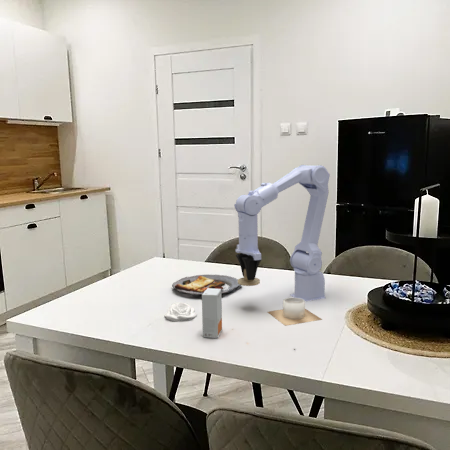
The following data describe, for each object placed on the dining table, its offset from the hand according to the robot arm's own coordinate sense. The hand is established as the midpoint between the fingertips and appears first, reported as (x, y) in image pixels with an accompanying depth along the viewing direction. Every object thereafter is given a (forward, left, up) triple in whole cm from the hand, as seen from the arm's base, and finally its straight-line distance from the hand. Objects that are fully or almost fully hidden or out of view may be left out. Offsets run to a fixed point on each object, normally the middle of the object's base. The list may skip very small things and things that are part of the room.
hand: (248, 278), depth 139 cm
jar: (-10, +11, -10) cm, 18 cm away
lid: (0, 0, -2) cm, 2 cm away
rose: (+21, -4, -11) cm, 24 cm away
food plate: (+5, -27, -11) cm, 30 cm away
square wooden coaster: (-10, +11, -10) cm, 18 cm away
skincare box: (+16, +13, -11) cm, 23 cm away
